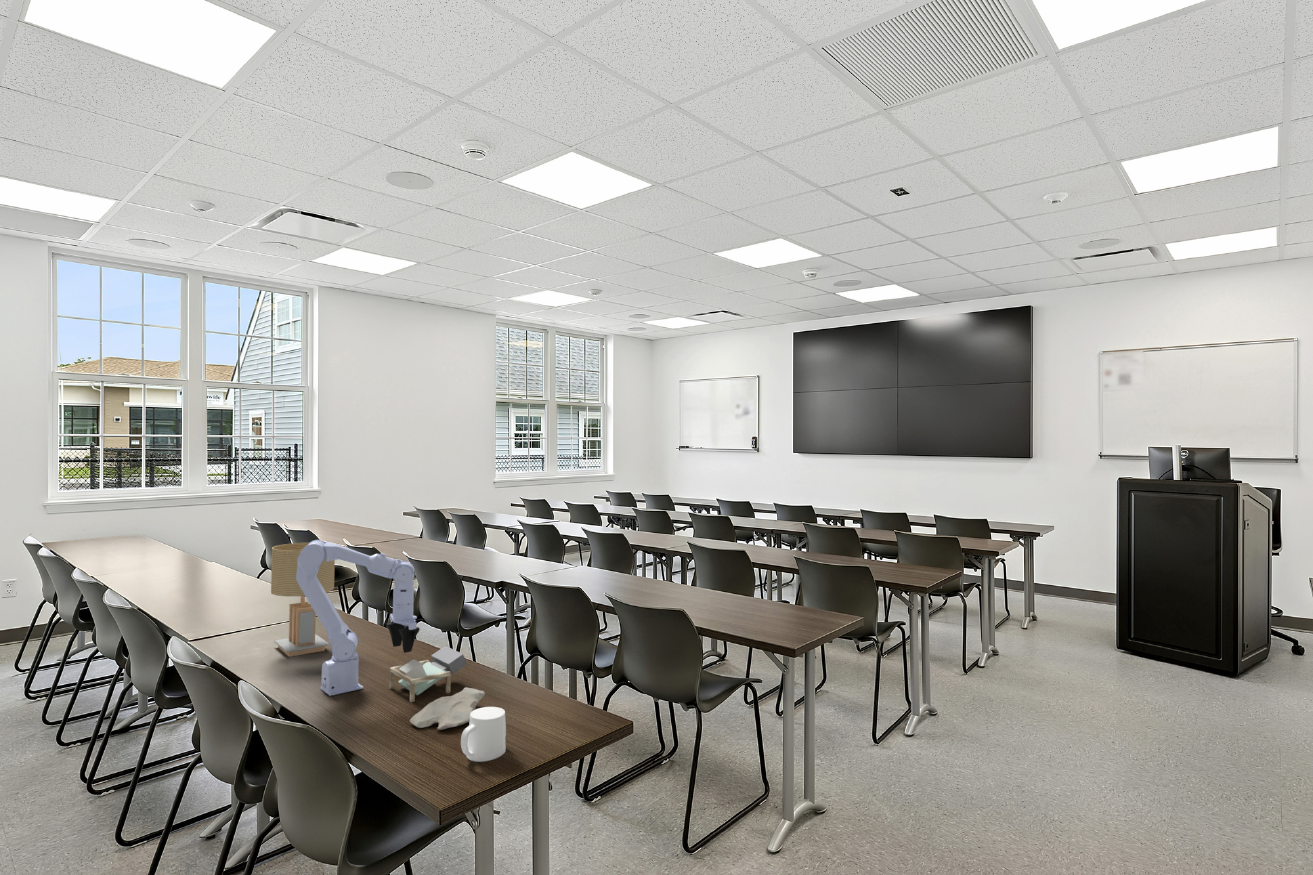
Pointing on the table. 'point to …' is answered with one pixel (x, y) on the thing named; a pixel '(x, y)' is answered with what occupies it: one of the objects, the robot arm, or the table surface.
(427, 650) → the table surface
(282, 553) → the desk lamp
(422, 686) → the trapdoor
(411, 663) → the white cube
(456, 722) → the rock
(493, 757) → the mug
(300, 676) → the table surface
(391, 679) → the trapdoor frame
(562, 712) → the table surface
